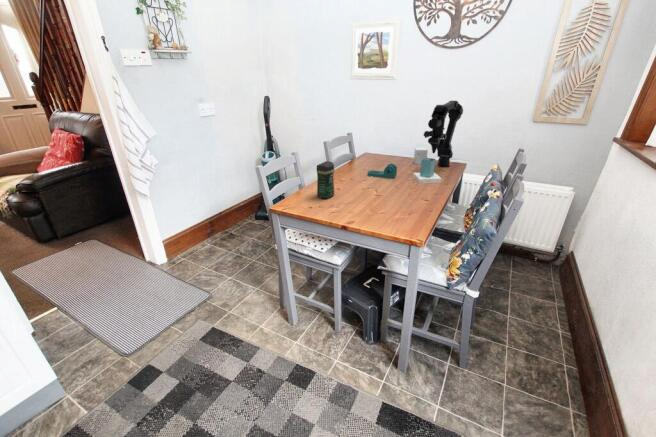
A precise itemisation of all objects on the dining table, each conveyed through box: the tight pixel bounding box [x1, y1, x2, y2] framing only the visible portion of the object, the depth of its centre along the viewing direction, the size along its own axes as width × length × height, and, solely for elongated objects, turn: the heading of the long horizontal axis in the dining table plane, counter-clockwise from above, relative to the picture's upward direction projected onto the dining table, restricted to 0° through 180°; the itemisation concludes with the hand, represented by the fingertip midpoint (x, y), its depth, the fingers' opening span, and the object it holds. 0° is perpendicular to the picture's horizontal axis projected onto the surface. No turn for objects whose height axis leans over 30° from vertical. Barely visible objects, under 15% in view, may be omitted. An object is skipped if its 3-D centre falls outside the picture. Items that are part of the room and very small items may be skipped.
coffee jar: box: [316, 160, 335, 199], centre depth 159 cm, size 10×8×19 cm
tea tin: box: [419, 157, 436, 178], centre depth 181 cm, size 6×6×10 cm
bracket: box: [367, 163, 398, 180], centre depth 191 cm, size 18×7×8 cm, turn 67°
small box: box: [413, 147, 428, 165], centre depth 214 cm, size 8×6×10 cm
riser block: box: [412, 172, 442, 184], centre depth 184 cm, size 13×13×3 cm
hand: (435, 151), depth 193 cm, fingers open, 9 cm apart
